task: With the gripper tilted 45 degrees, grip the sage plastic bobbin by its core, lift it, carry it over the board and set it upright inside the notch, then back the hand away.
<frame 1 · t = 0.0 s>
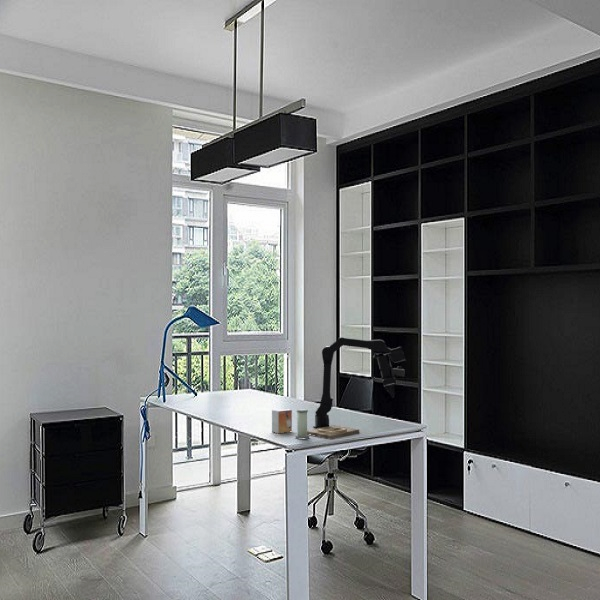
hand: (393, 396, 326), 15 cm above the table, tool pointing down, fingers open, 9 cm apart
small box: (281, 432, 320), on the table
bobbin: (302, 438, 305), on the table
notched board: (332, 433, 315), on the table
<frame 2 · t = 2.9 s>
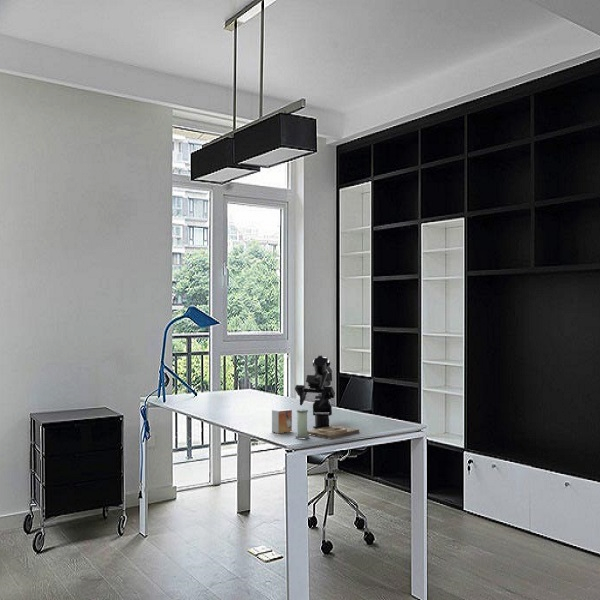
hand: (309, 405, 312), 14 cm above the table, tool tilted 45°, fingers open, 9 cm apart
nothing on the table moved.
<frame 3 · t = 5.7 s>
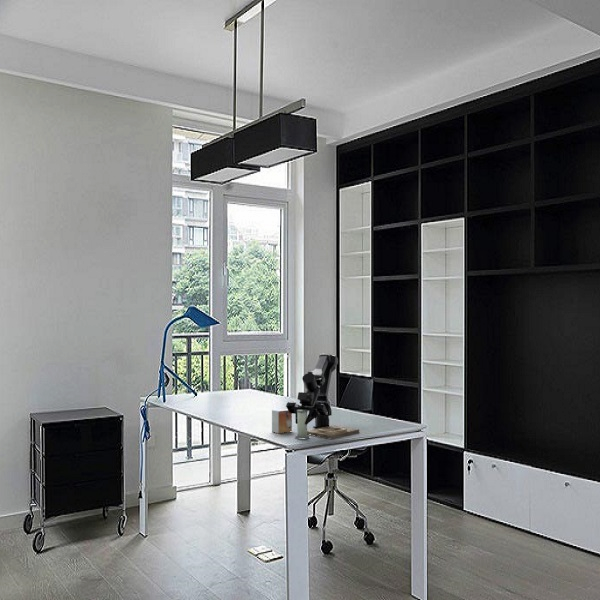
hand: (300, 423, 304), 7 cm above the table, tool tilted 45°, fingers closed on bobbin, 4 cm apart
bobbin: (302, 437, 305), on the table, touching gripper
everything else where it was.
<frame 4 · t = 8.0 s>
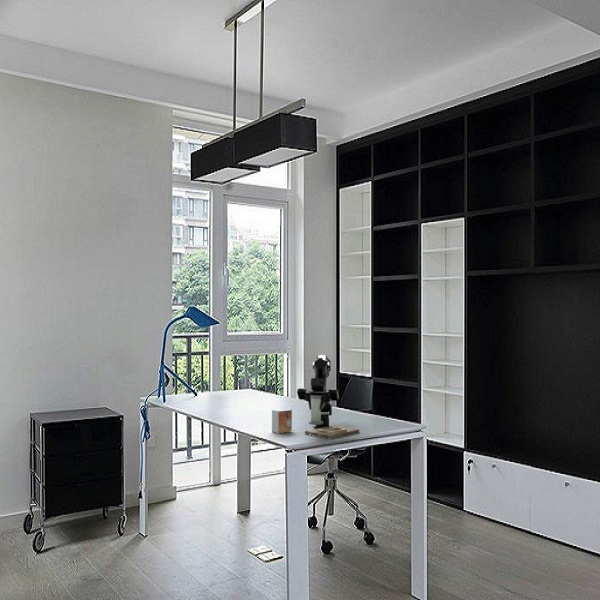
hand: (315, 409, 306), 13 cm above the table, tool tilted 45°, fingers closed on bobbin, 4 cm apart
bobbin: (315, 423, 308), point 6 cm above the table, touching gripper
everything else where it was.
when the fingers open (10 cm above the table, at t = 10.5 s): bobbin drops 1 cm, resting on notched board.
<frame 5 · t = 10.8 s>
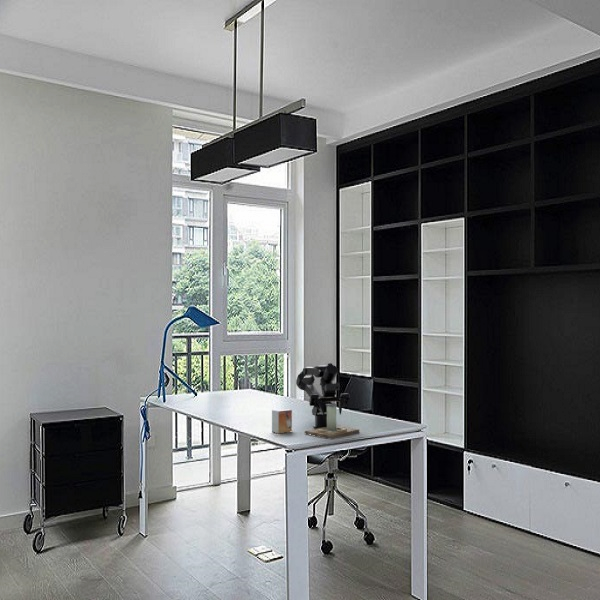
hand: (332, 414, 312), 10 cm above the table, tool tilted 45°, fingers open, 8 cm apart
bobbin: (331, 431, 313), point 1 cm above the table, touching notched board
everything else where it was.
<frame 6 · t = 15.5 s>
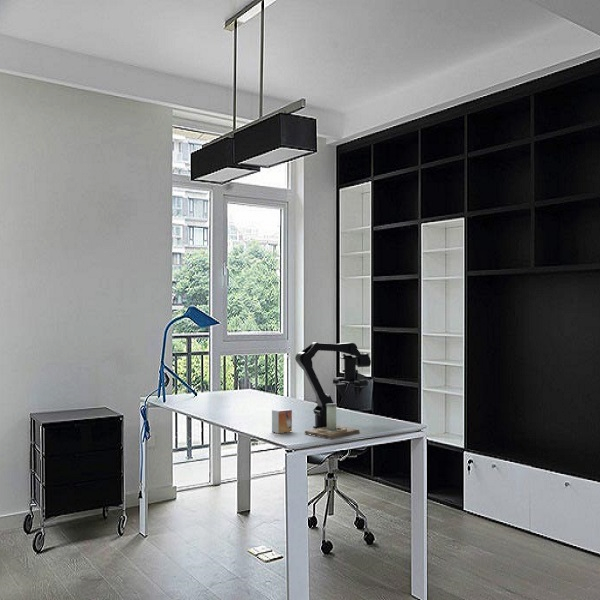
hand: (350, 399, 335), 13 cm above the table, tool pointing down, fingers open, 9 cm apart
nothing on the table moved.
at the end: bobbin 0.0 cm from the target spot on the notched board, point 1.5 cm above the notched board's base; bobbin tilted 0°; the gripper is holding nothing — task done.
